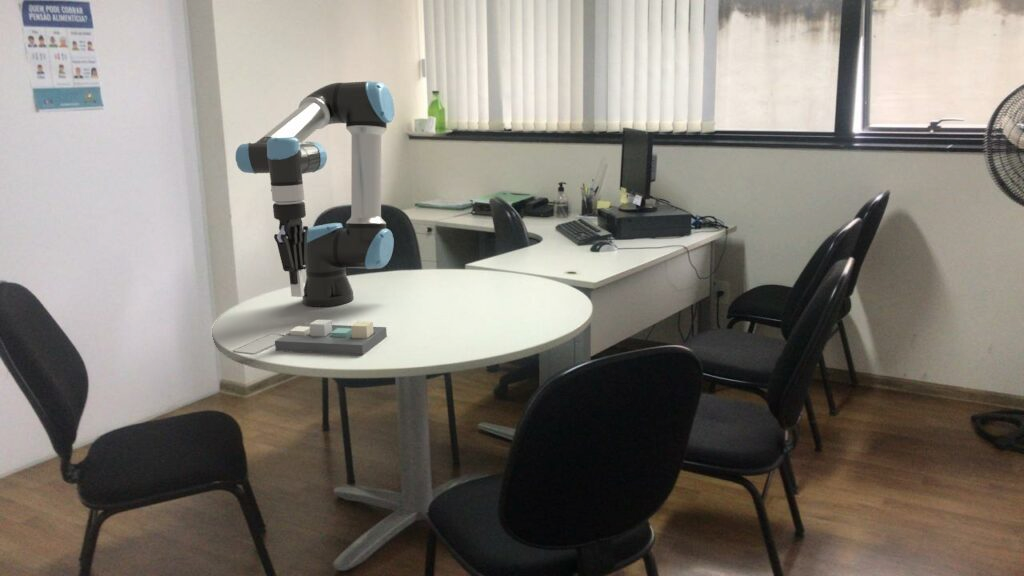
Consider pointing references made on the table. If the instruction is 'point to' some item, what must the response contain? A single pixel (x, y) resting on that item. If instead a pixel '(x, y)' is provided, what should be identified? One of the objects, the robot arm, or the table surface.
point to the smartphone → (259, 344)
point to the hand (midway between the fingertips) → (297, 295)
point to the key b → (320, 328)
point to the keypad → (330, 342)
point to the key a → (300, 331)
